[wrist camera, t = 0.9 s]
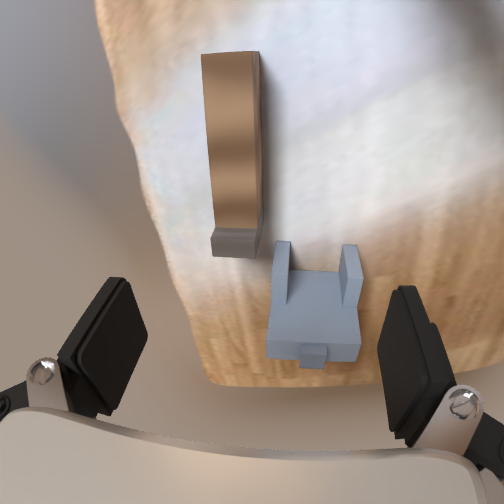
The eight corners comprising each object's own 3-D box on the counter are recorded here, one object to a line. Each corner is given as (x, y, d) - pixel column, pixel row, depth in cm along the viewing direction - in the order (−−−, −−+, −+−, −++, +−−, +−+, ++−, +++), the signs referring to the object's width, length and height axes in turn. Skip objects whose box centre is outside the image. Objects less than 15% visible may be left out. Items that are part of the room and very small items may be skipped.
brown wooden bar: (216, 53, 26) (193, 55, 20) (258, 51, 25) (247, 50, 20) (227, 219, 36) (212, 256, 30) (263, 220, 36) (255, 258, 30)
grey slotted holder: (275, 240, 37) (264, 320, 27) (356, 245, 36) (372, 325, 26) (275, 287, 41) (264, 367, 31) (347, 291, 40) (356, 371, 30)
